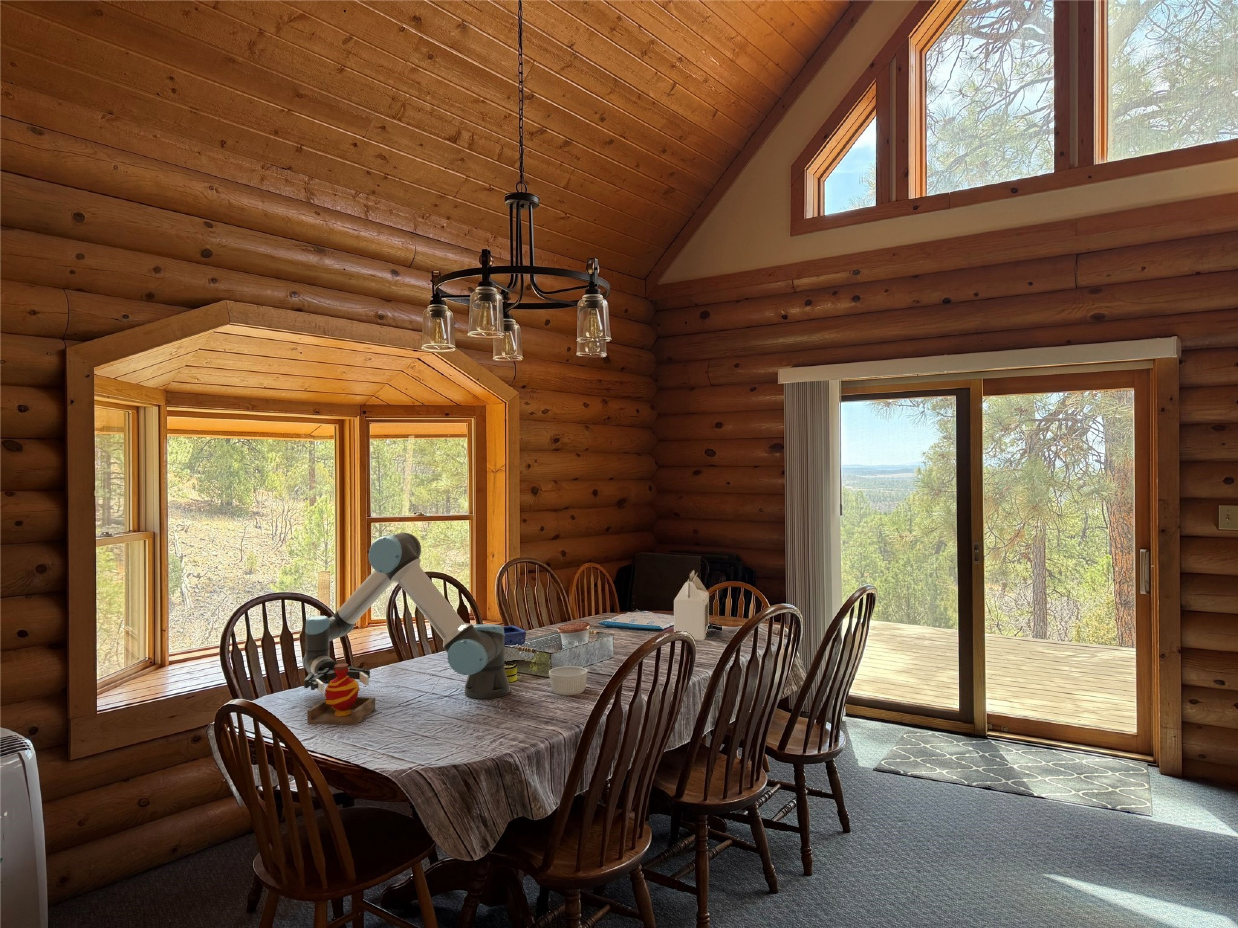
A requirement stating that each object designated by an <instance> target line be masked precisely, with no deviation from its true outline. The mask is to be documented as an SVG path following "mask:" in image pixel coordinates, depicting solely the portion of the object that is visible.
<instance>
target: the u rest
mask: <svg viewBox="0 0 1238 928" xmlns="http://www.w3.org/2000/svg"><path fill="white" fill-rule="evenodd" d="M325 700H326V698H325V699H323V700H322V701H320V702H318V703H317V704H315V705H314V706H313V707H310V709H309V708H308V709H307V716H306V718H307V720H306V721H307V724H318V723H321V724H323V725H324V724H325V725H327V724H328V725H349V726H350V725H352V726H353V725H354V726H355V725H357V724H358V723H360V722H361V721H362V720H364V719H365V718H366V717H368V716H369V715H370V714H372V713H373V712H374V711H376V697H371V696H369V697H368V696H367V697H366V696H357V699H356V701H355V703H354V704H353V705H352V706H351V708H350V710H351V711H352V712H351V714H348V715H345V716H336V715H334V714H335V712H336V710H334V709H333V708H332V707H331V706H330V705H329V704H326V702H325ZM372 711H373V712H372ZM368 714H369V715H368ZM321 724H320V725H321Z"/></svg>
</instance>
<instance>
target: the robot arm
mask: <svg viewBox="0 0 1238 928" xmlns="http://www.w3.org/2000/svg"><path fill="white" fill-rule="evenodd" d="M421 554H422V546H421V542H420V541H419V539H418V538H417V537H416V536H415V535H413V534H411V533H409V532H398V533H394V534H387V535H382V536H381V537H378V538H377V539H375V540H374V541H373V542H372V543H371V545H370V548H369V550H368V561H369V564H370V567H371V568H372V569H373V571H372V572H371V574H369V576H367V578H366V579H365V580H364V581H363V582H362V583H361V584H360V586H358V587H357V589H356V590H355V591H354V592H353V593H352V594H351V595H350V596H349V597H348V598H347V599H346V600H345V602H344V603H342V605H341V606H340V607H339V608H338V610H337V611H336V612H335V613H334V614H333V615H332V616H331V617H329V616H325V615H315V616H310V617H308V618H307V619H306V620H305V629H304V632H305V634H304V635H305V654H304V657H303V658H302V666H303V668H304V669H305V671H306V672H307V673H308V675H307V676H306V677H305V678H304V680H303V684H304V685H303V686H304V689H309V688H310V691H315V690H317V691H318V692H319V693H321V694H323V693H324V694H325V685H326V684H327V685H328V684H329V683H330V681H331V680H333V679H335V678H336V677H337V673H335V672H334V671H335V665H337V664H339V663H338V661H335V660H334V659H332V658H331V657H330V642H331V641H334V640H336V639H340V638H342V637H345V636H347V635H348V634H350V633H351V632H352V631H353V630H354V626H355V624H356V623H357V622H358V621H359V620H360V619H361V617H362V616H363V615H365V613H366V612H367V611H368V610H369V609H370V608H371V607H372V606H373V604H374V603H375V602H376V601H377V600H378V599H379V598H380V597H381V595H383V594H384V593H385V592H386V591H387V589H388V588H389V587H390V586H391V585H392V584H393V583H397V584H398V585H399V586H400V587H401V588H402V589H403V591H404V593H406V595H407V596H408V597H409V598H410V599H411V601H412V602H413V604H414V605H415V606H416V607H417V609H418V610H419V611H420V612H421V614H422V615H423V617H425V619H426V620H427V622H429V624H430V625H431V626H432V627H433V629H434V631H435V632H436V633H437V634H438V636H440V638H441V639H442V640H443V642H442V643H443V644H442V648H443V649H444V651H445V653H447V663H448V665H449V666H450V668H451V670H453V671H454V672H455V673H457V674H458V675H461V676H467V678H466V681H465V684H464V695H465V696H466V697H468V698H473V699H480V700H484V699H496V698H500V697H505V696H507V695H508V694H509V693H510V691H511V690H510V689H511V688H510V687H511V686H510V683H509V680H508V676H507V673H506V670H505V662H504V637H505V634H504V628H503V627H504V626H503V625H500V624H488V623H487V624H485V623H482V624H481V623H480V624H479V623H478V624H472V623H467V622H465V621H464V620H463V619H462V617H460V615H459V614H458V613H457V611H456V610H455V609H454V607H453V606H452V605H451V603H450V602H449V601H448V600H447V599H446V598H445V596H444V595H443V594H442V592H440V590H439V589H438V588H437V586H436V585H435V584H434V581H432V580H431V578H430V577H429V576H428V575H427V574H426V572H425V571H424V570H423V569H422V567H421V559H420V557H421ZM347 668H349V671H348V672H346V676H349V677H350V678H353V679H355V680H356V681H357V680H358V681H359V682H360V683H362V684H363V685H365V686H369V685H370V683H369V681H370V680H369V679H370V678H371V670H370V669H365V668H360V667H359V668H358V667H354V666H349V665H348V667H347Z"/></svg>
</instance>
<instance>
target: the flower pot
mask: <svg viewBox="0 0 1238 928" xmlns="http://www.w3.org/2000/svg"><path fill="white" fill-rule="evenodd" d="M502 627H503V628H504V634H505V637H504V647H505V645H516V644H518V645H522V644H524V645H525V643H526V639H527V638H526V637H527V632H526V630H524V629H522V628H520V627H518V626H516V625H505V626H502Z"/></svg>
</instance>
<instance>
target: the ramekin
mask: <svg viewBox="0 0 1238 928" xmlns="http://www.w3.org/2000/svg"><path fill="white" fill-rule="evenodd" d="M587 676H588V669H587V668H585V667H582V666H573V665H571V666H570V665H564V666H558V667H554V668H552V669H550V670H549V671H548V677H549V683H550V689H551V690H552V691H551V692H553V693H554V694H556V695H560V696H573V695H574V696H575V695H579V694H582V693H583V692H584V691H585V690H586V686H587V678H588V677H587Z"/></svg>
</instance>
